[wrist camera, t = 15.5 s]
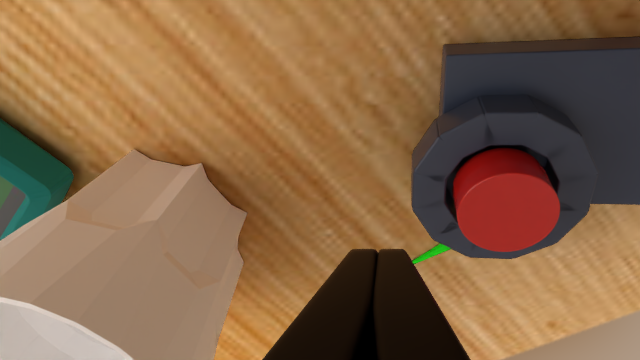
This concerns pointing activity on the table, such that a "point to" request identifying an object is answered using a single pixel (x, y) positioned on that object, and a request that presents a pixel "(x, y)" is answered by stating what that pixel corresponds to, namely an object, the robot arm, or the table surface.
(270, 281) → the table surface
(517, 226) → the button
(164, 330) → the cup
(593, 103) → the panel
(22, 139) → the digital multimeter
